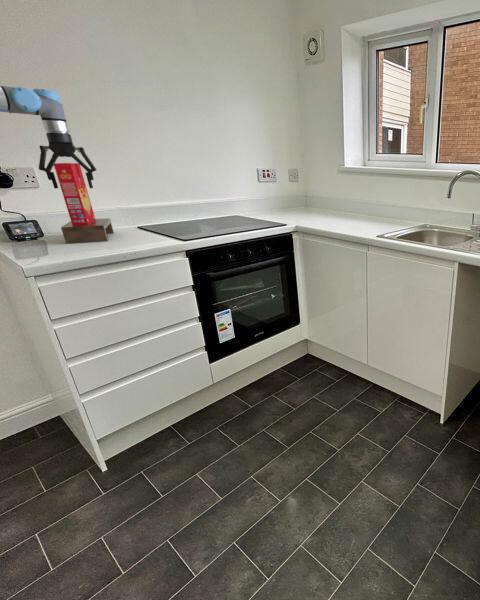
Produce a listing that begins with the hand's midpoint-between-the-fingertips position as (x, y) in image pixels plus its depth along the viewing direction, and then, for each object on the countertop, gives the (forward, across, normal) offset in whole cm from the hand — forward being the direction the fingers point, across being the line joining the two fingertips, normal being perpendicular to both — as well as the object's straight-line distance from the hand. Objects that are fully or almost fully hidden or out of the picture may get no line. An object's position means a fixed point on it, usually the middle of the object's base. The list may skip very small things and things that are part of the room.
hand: (74, 188), depth 153 cm
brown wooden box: (+22, -1, 0) cm, 22 cm away
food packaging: (+15, 0, 0) cm, 15 cm away
